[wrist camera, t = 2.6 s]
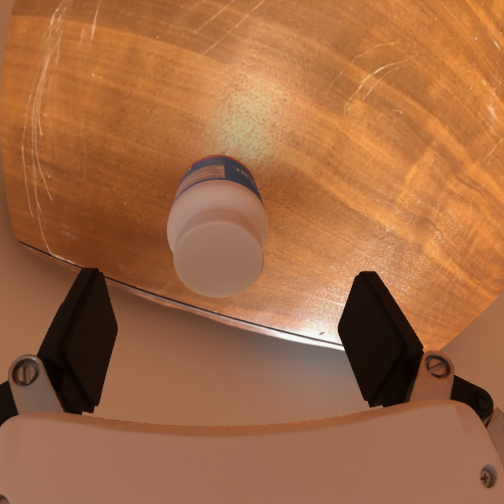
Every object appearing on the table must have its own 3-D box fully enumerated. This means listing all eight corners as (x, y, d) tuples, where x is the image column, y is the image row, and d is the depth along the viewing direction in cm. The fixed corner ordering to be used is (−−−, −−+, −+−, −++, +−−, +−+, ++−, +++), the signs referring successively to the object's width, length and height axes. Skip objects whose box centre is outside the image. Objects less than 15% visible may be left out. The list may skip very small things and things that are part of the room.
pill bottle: (264, 207, 22) (295, 289, 14) (199, 232, 23) (193, 324, 15) (238, 140, 19) (257, 187, 11) (167, 170, 20) (135, 237, 12)
